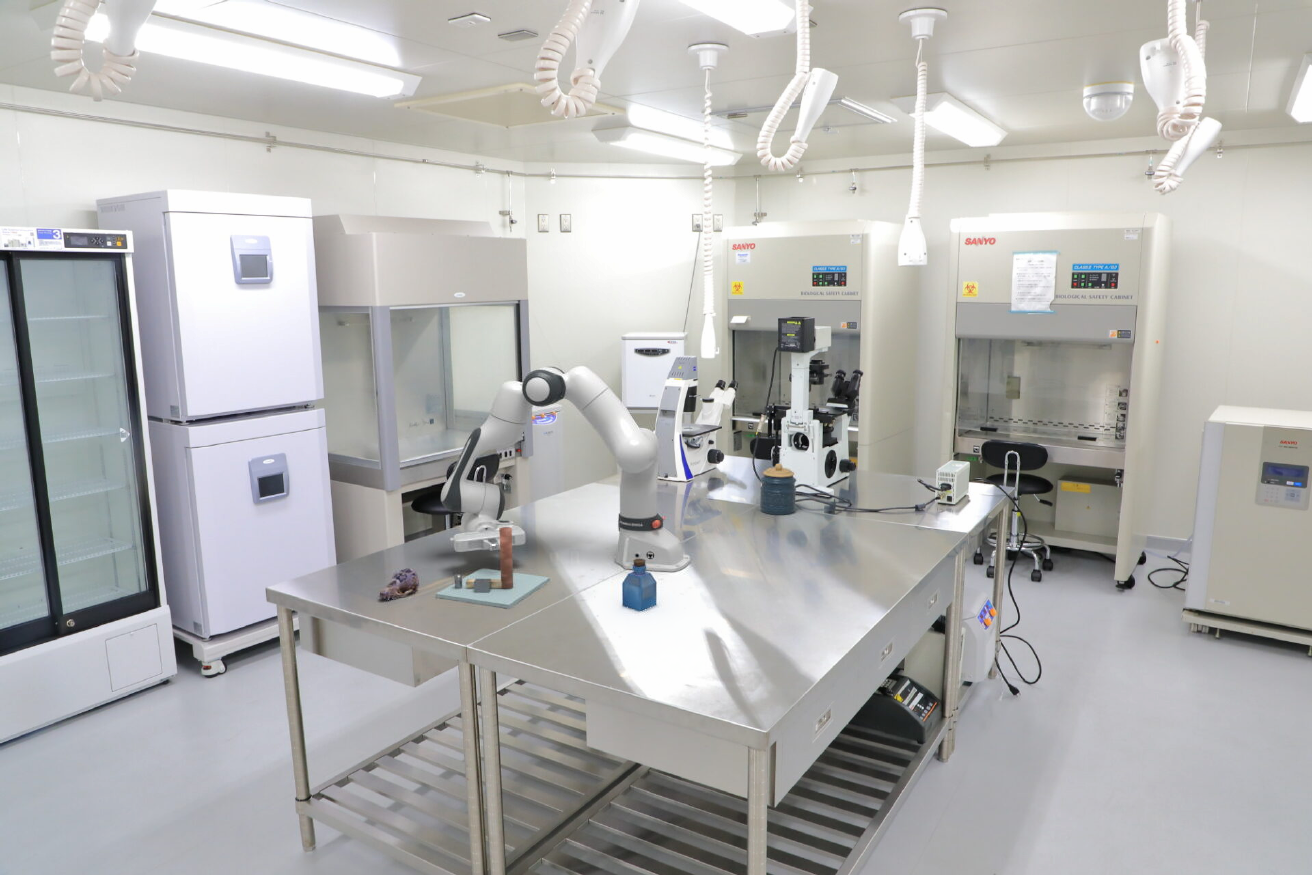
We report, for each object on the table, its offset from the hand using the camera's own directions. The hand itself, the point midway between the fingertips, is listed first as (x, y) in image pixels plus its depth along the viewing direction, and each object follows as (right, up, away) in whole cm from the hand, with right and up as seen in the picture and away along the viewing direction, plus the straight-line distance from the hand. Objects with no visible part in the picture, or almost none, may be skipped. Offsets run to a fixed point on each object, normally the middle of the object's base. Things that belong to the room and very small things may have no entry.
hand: (495, 547), depth 236 cm
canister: (+89, +4, +74) cm, 116 cm away
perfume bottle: (+40, -13, -18) cm, 46 cm away
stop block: (-1, -11, -11) cm, 16 cm away
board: (+1, -10, -7) cm, 12 cm away
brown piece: (0, -9, -9) cm, 13 cm away
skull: (-24, -11, -11) cm, 29 cm away
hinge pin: (-8, -11, -8) cm, 16 cm away
